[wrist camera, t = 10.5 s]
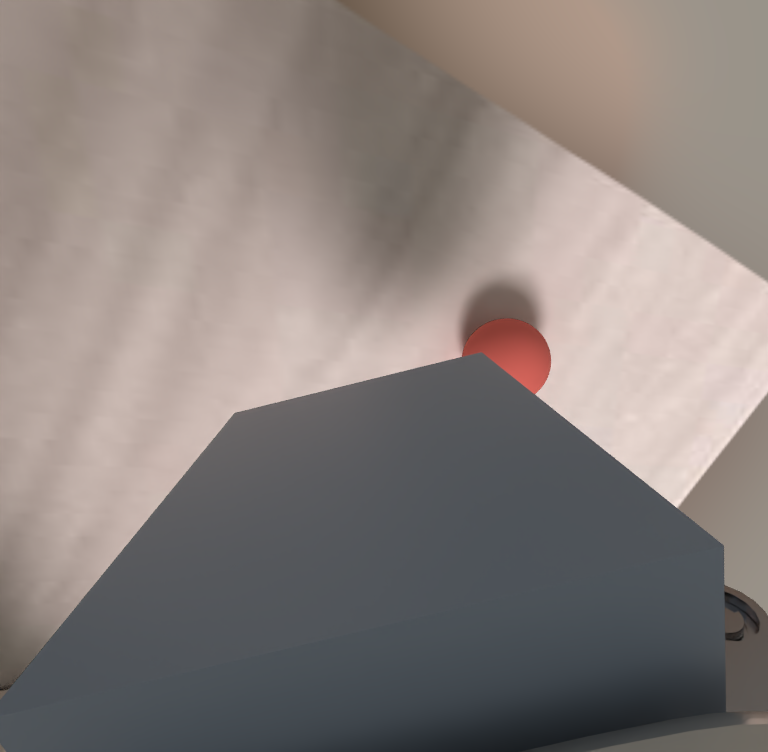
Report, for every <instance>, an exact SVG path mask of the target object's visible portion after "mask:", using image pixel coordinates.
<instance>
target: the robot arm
mask: <svg viewBox="0 0 768 752" xmlns="http://www.w3.org/2000/svg"><path fill="white" fill-rule="evenodd" d="M724 599H725V672H726V712H723V713H711V714H704V715H697V716H690V717H683V718H677V719H670V720H665V721H660V722H655V723H651V724H646V725H641V726H636V727H631V728H626V729H621V730H616V731H611V732H606V733H602V734H597V735H592V736H587V737H583V738H578V739H574V740H569V741H565V742H561V743H556V744H552V745H547V746H543V747H538V748H534V749H530V750H525V751H521V752H768V616H767V614H766V612H765V611H764V610H763V609H762V608H761V607H760V606H759V605H758V604H757V603H756V602H755V601H754V600H752V599H751V598H749V597H748V596H746V595H745V594H743V593H742V592H740V591H737V590H735V589H733V588H730V587H728V586H725V585H724ZM8 690H9V689H8ZM8 690H3V691H0V700H1V698H2V697H3V696H4V695H5V693H6V692H7V691H8ZM0 752H6V751H5V750H4V748H3V747H2V745H1V744H0Z"/></svg>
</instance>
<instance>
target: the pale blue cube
mask: <svg viewBox="0 0 768 752" xmlns="http://www.w3.org/2000/svg"><path fill="white" fill-rule="evenodd" d="M723 712H726V672H725V599H724V546H723V544H721V543H720V542H719V541H717V540H716V539H715V538H714V537H713V536H711V535H710V534H709V533H708V532H706V531H705V530H704V529H702V528H701V527H700V526H699V525H697V524H696V523H695V522H694V521H693V520H691V519H690V518H689V517H687V516H686V515H685V514H684V513H682V512H681V511H680V510H679V509H677V508H676V507H675V506H674V505H672V504H671V503H670V502H669V501H667V500H666V499H665V498H664V497H662V496H661V495H660V494H659V493H657V492H656V491H655V490H654V489H652V488H651V487H650V486H649V485H647V484H646V483H645V482H644V481H642V480H641V479H640V478H639V477H637V476H636V475H635V474H634V473H632V472H631V471H630V470H629V469H627V468H626V467H625V466H624V465H622V464H621V463H620V462H619V461H617V460H616V459H615V458H614V457H612V456H611V455H610V454H609V453H607V452H606V451H605V450H604V449H602V448H601V447H600V446H599V445H597V444H596V443H595V442H594V441H592V440H591V439H590V438H589V437H587V436H586V435H585V434H584V433H582V432H581V431H580V430H578V429H577V428H576V427H575V426H573V425H572V424H571V423H570V422H568V421H567V420H566V419H565V418H563V417H562V416H561V415H560V414H558V413H557V412H556V411H555V410H553V409H552V408H551V407H550V406H548V405H547V404H546V403H545V402H543V401H542V400H541V399H540V398H538V397H537V396H536V395H535V394H533V393H532V392H531V391H530V390H528V389H527V388H526V387H525V386H523V385H522V384H521V383H520V382H518V381H517V380H516V379H515V378H513V377H512V376H511V375H510V374H508V373H507V372H506V371H505V370H503V369H502V368H501V367H500V366H498V365H497V364H496V363H495V362H493V361H492V360H491V359H490V358H488V357H487V356H486V355H485V354H483V353H482V352H480V353H476V354H472V355H468V356H464V357H460V358H456V359H452V360H448V361H444V362H439V363H435V364H431V365H427V366H423V367H419V368H415V369H411V370H407V371H403V372H399V373H395V374H391V375H387V376H383V377H379V378H375V379H371V380H367V381H363V382H359V383H354V384H350V385H346V386H342V387H338V388H334V389H330V390H326V391H322V392H318V393H314V394H310V395H306V396H302V397H298V398H294V399H290V400H286V401H282V402H278V403H273V404H269V405H265V406H261V407H257V408H253V409H249V410H245V411H241V412H237V413H234V415H233V416H232V417H231V418H230V419H229V421H228V422H227V423H226V424H225V426H224V427H223V428H222V429H221V430H220V432H219V433H218V434H217V435H216V437H215V438H214V439H213V440H212V441H211V443H210V444H209V445H208V446H207V448H206V449H205V450H204V451H203V452H202V454H201V455H200V456H199V457H198V459H197V460H196V461H195V462H194V463H193V465H192V466H191V467H190V468H189V470H188V471H187V472H186V473H185V474H184V476H183V477H182V478H181V479H180V481H179V482H178V483H177V484H176V486H175V487H174V488H173V489H172V490H171V492H170V493H169V494H168V495H167V497H166V498H165V499H164V500H163V501H162V503H161V504H160V505H159V506H158V508H157V509H156V510H155V511H154V512H153V514H152V515H151V516H150V517H149V519H148V520H147V521H146V522H145V523H144V525H143V526H142V527H141V528H140V530H139V531H138V532H137V533H136V534H135V536H134V537H133V538H132V539H131V541H130V542H129V543H128V544H127V545H126V547H125V548H124V549H123V550H122V552H121V553H120V554H119V555H118V556H117V558H116V559H115V560H114V561H113V563H112V564H111V565H110V566H109V567H108V569H107V570H106V571H105V572H104V574H103V575H102V576H101V577H100V578H99V580H98V581H97V582H96V583H95V585H94V586H93V587H92V588H91V589H90V591H89V592H88V593H87V594H86V596H85V597H84V598H83V599H82V600H81V602H80V603H79V604H78V605H77V607H76V608H75V609H74V610H73V611H72V613H71V614H70V615H69V616H68V618H67V619H66V620H65V621H64V622H63V624H62V625H61V626H60V627H59V629H58V630H57V631H56V632H55V634H54V635H53V636H52V637H51V638H50V640H49V641H48V642H47V643H46V645H45V646H44V647H43V648H42V649H41V651H40V652H39V653H38V654H37V656H36V657H35V658H34V659H33V660H32V662H31V663H30V664H29V665H28V667H27V668H26V669H25V670H24V671H23V673H22V674H21V675H20V676H19V678H18V679H17V680H16V681H15V682H14V684H13V685H12V686H11V687H10V689H9V690H8V691H7V692H6V693H5V695H4V696H3V697H2V698H1V700H0V744H1V745H2V747H3V748H4V750H5V751H6V752H521V751H525V750H530V749H534V748H538V747H543V746H547V745H552V744H556V743H561V742H565V741H569V740H574V739H578V738H583V737H587V736H592V735H597V734H602V733H606V732H611V731H616V730H621V729H626V728H631V727H636V726H641V725H646V724H651V723H655V722H660V721H665V720H670V719H677V718H683V717H690V716H697V715H704V714H711V713H723Z"/></svg>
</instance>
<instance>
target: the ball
mask: <svg viewBox="0 0 768 752" xmlns="http://www.w3.org/2000/svg"><path fill="white" fill-rule="evenodd" d="M480 352H482V353H483V354H485V355H486V356H487V357H488V358H490V359H491V360H492V361H493V362H495V363H496V364H497V365H498V366H500V367H501V368H502V369H503V370H505V371H506V372H507V373H508V374H510V375H511V376H512V377H513V378H515V379H516V380H517V381H518V382H520V383H521V384H522V385H523V386H525V387H526V388H527V389H528V390H530V391H531V392H532V393H533V394H536V393H537V392H538V391H539V390H540V389H541V387H542V386H543V385H544V383H545V381H546V380H547V378H548V375H549V372H550V367H551V355H550V350H549V347H548V345H547V342H546V340H545V339H544V337H543V336H542V335H541V334H540V332H539V331H538V330H537V329H535V328H534V327H533V326H531V325H529V324H528V323H526V322H523V321H520V320H516V319H508V318H507V319H497V320H493V321H491V322H488V323H486V324H484V325H482V326H481V327H479V328H478V329H477V330H476V331H475V332H474V333H473V334H472V335H471V336H470V338H469V339H468V341H467V343H466V345H465V347H464V350H463V354H462V357H464V356H468V355H472V354H476V353H480Z"/></svg>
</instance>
